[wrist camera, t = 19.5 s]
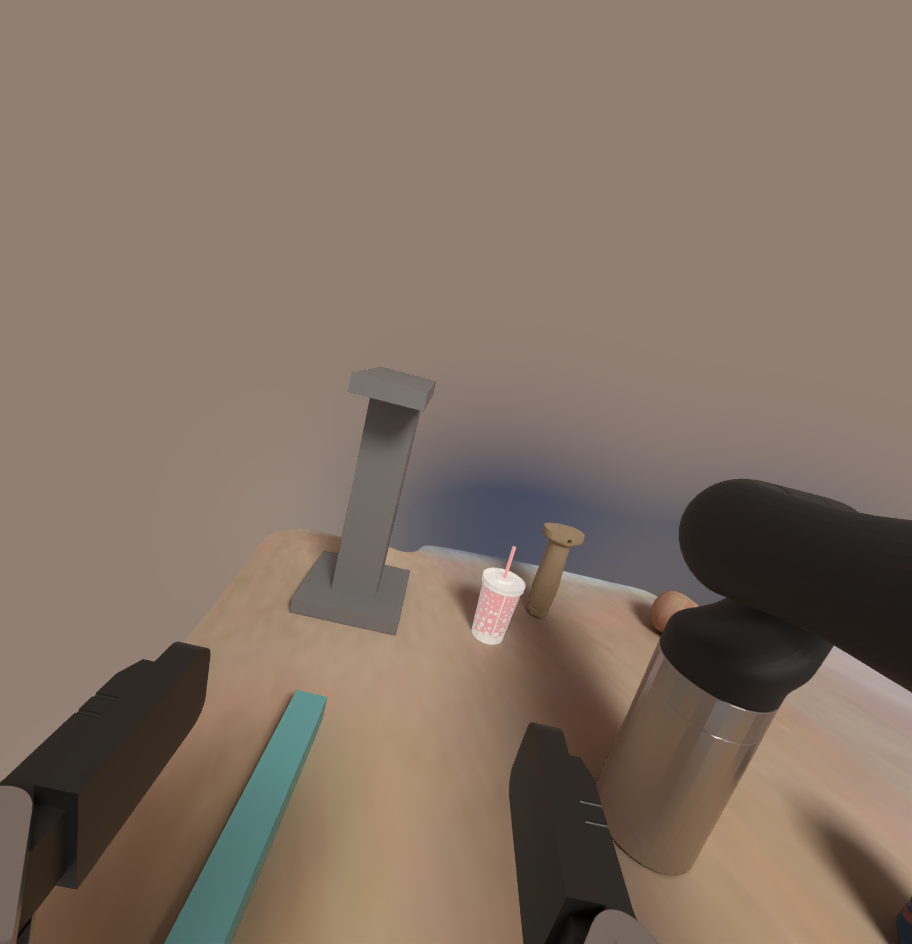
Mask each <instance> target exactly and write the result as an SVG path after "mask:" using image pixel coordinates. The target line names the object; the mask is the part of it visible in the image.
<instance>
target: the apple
mask: <svg viewBox="0 0 912 944" xmlns="http://www.w3.org/2000/svg"><path fill="white" fill-rule="evenodd" d="M692 607H699V606H698V605H697V604H696V603H695V602H693V601H692V600H691V599H689V598H688V597H686V596H685V595H683V594H681V593H679V592H676V591H667V592H664V593H662V594H661V595H660V596H659V597H657V599H656V600H655V601H654V603H653V605H652V609H651V620H652V623H653V625H654V627H655V628H656V629H657V630H658V631H660V632H662V633H663V630H664V628H665V626H666V624H667V622H668V620H669V618H670V617H671V616H672V615H673V614H674V613H676V612H678V611H679V610H682V609H686V608H692Z"/></svg>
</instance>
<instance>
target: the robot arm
mask: <svg viewBox="0 0 912 944" xmlns="http://www.w3.org/2000/svg"><path fill="white" fill-rule="evenodd" d="M679 542H680V548H681V552H682V554H683V557H684V560H685V562H686V564H687V566H688V567H689V569H690V571H691V572H692V573H693V574H694V576H695V577H696V578H697V579H698V580H699V581H700V582H701V583H702V584H703V585H704V586H706V587H707V588H708V589H710V590H711V591H713V592H715V593H717V594H720V595H722V596H725V597H726V598H725V599H723V600H721V601H718V602H716V603H713V604H709V605H704V606H699V607H692V608H686V609H682V610H679V611H678V612H676V613H674V614H673V615H672V616H671V617H670V618H669V620H668V622H667V624H666V626H665V628H664V630H663V633H662V635H661V637H660V639H659V642H658V644H657V646H656V648H655V651H654V653H653V655H652V658H651V660H650V662H649V664H648V667H647V669H646V672H645V674H644V676H643V678H642V681H641V683H640V685H639V688H638V690H637V692H636V694H635V697H634V699H633V701H632V704H631V706H630V708H629V710H628V713H627V715H626V717H625V720H624V722H623V724H622V726H621V729H620V731H619V733H618V735H617V738H616V740H615V742H614V745H613V747H612V749H611V751H610V753H609V756H608V758H607V760H606V763H605V765H604V767H603V770H602V772H601V774H600V776H599V779H598V781H597V783H596V784H595V780H594V779H593V777H592V775H591V774H590V772H589V771H588V769H587V768H586V766H585V764H584V763H583V761H582V760H581V758H579V757H575V756H570V755H569V754H568V750H567V746H566V742H565V738H564V734H563V732H562V730H561V729H559V728H555V727H550V726H546V725H541V724H537V723H532V722H531V723H530V724H529V725H528V727H527V730H526V732H525V735H524V738H523V740H522V743H521V746H520V748H519V751H518V753H517V756H516V759H515V761H514V764H513V767H512V770H511V776H510V784H509V799H510V809H511V820H512V830H513V840H514V851H515V861H516V871H517V882H518V892H519V903H520V913H521V923H522V934H523V944H657V943H656V941H655V940H654V938H653V937H652V936H651V934H650V933H649V932H648V931H647V930H646V929H645V928H644V927H643V926H642V924H640V923H639V922H638V921H637V920H636V917H635V914H634V912H633V909H632V905H631V902H630V899H629V895H628V892H627V888H626V885H625V882H624V878H623V875H622V872H621V868H620V865H619V861H618V858H617V855H616V851H615V848H614V845H613V841H612V838H613V839H614V840H615V841H616V842H617V844H618V845H619V846H620V847H621V848H622V849H623V850H624V851H625V852H626V853H627V854H629V855H630V856H631V857H632V858H633V859H635V860H636V861H638V862H639V863H641V864H642V865H643V866H645V867H647V868H649V869H651V870H653V871H656V872H659V873H662V874H666V875H679V874H683V873H685V872H687V871H688V870H689V869H691V867H692V865H693V864H694V862H695V860H696V858H697V857H698V855H699V853H700V851H701V849H702V848H703V846H704V844H705V842H706V840H707V839H708V837H709V835H710V834H711V832H712V830H713V828H714V826H715V825H716V823H717V821H718V819H719V817H720V816H721V814H722V812H723V810H724V808H725V806H726V805H727V803H728V801H729V799H730V797H731V796H732V794H733V792H734V790H735V788H736V786H737V785H738V783H739V781H740V779H741V777H742V775H743V774H744V772H745V770H746V768H747V766H748V765H749V763H750V761H751V759H752V757H753V755H754V754H755V752H756V750H757V748H758V746H759V744H760V743H761V741H762V739H763V737H764V735H765V733H766V731H767V729H768V728H769V726H770V724H771V722H772V720H773V718H774V717H775V715H776V713H777V711H778V709H779V707H780V706H781V704H782V702H783V700H784V699H785V697H786V696H787V695H788V694H789V693H790V692H792V691H793V690H795V689H797V688H799V687H801V686H802V685H804V684H805V683H806V682H808V681H809V680H810V679H811V678H812V677H813V675H814V674H815V673H816V672H817V670H818V669H819V667H820V666H821V664H822V663H823V661H824V660H825V658H826V657H827V655H828V654H829V652H830V651H831V649H832V648H833V646H836V647H838V648H839V649H841V650H843V651H844V652H846V653H848V654H850V655H851V656H853V657H854V658H856V659H858V660H859V661H861V662H863V663H864V664H866V665H867V666H869V667H871V668H872V669H874V670H875V671H877V672H879V673H880V674H882V675H884V676H885V677H887V678H889V679H890V680H892V681H893V682H895V683H897V684H898V685H900V686H902V687H903V688H905V689H907V690H908V691H910V692H912V520H904V519H897V518H889V517H880V516H874V515H869V514H864V513H859V512H857V511H856V510H855V509H853V508H852V507H850V506H847V505H846V504H843V503H841V502H839V501H835V500H832V499H829V498H826V497H822V496H818V495H814V494H811V493H806V492H803V491H799V490H795V489H791V488H787V487H783V486H779V485H775V484H771V483H768V482H763V481H759V480H751V479H733V480H727V481H723V482H720V483H717V484H714V485H712V486H710V487H708V488H707V489H705V490H704V491H702V492H701V493H699V494H698V495H697V496H696V497H695V498H694V499H693V500H692V501H691V502H690V503H689V505H688V506H687V508H686V509H685V511H684V513H683V515H682V518H681V521H680V526H679ZM209 663H210V649H208V648H204V647H200V646H196V645H191V644H187V643H182V642H175V643H173V644H172V645H171V646H170V647H169V648H168V649H167V650H166V651H165V652H164V653H163V654H162V655H161V656H160V657H159V658H158V659H157V660H156V661H155V662H153V661H148V660H144V659H142V660H141V661H139V662H137V663H135V664H133V665H131V666H130V667H128V668H126V669H124V670H122V671H120V672H118V673H117V674H116V675H114V677H112V678H111V679H110V680H109V681H108V682H107V683H106V684H105V685H104V686H103V687H102V688H101V689H100V690H99V691H98V692H96V695H95V696H94V697H93V696H92V697H91V698H90V699H89V700H88V701H87V702H86V703H85V704H84V705H83V706H82V707H81V708H79V711H78V712H77V713H74V714H73V715H72V716H71V717H70V718H69V719H68V720H67V721H66V722H64V723H63V724H62V725H61V726H60V727H59V728H58V729H57V730H56V731H55V732H54V733H53V734H52V735H51V736H50V737H48V738H47V739H46V740H45V741H44V742H43V743H42V744H41V745H40V746H39V747H38V748H37V749H36V750H35V751H34V752H33V753H31V754H30V755H29V756H28V757H27V758H26V759H25V760H24V761H23V762H22V763H21V764H20V765H19V766H18V767H17V768H16V769H15V770H13V771H12V772H11V773H10V774H9V775H8V776H7V777H6V778H5V779H4V780H2V781H1V782H0V944H32V936H33V928H34V920H35V911H36V910H37V909H38V908H39V906H40V905H41V904H42V902H43V901H44V900H45V898H46V897H47V896H48V894H49V893H50V892H51V890H52V889H53V888H54V886H55V885H57V886H62V887H67V888H72V889H78V887H79V886H80V885H81V883H82V882H83V880H84V879H85V878H86V876H87V875H88V873H89V872H90V871H91V869H92V868H93V866H94V865H95V864H96V862H97V861H98V859H99V858H100V857H101V855H102V854H103V852H104V851H105V850H106V848H107V847H108V845H109V844H110V843H111V841H112V840H113V838H114V837H115V836H116V834H117V833H118V831H119V830H120V829H121V827H122V826H123V824H124V823H125V822H126V820H127V819H128V817H129V816H130V815H131V813H132V812H133V810H134V809H135V808H136V806H137V805H138V803H139V802H140V801H141V799H142V798H143V796H144V795H145V794H146V792H147V791H148V789H149V788H150V787H151V785H152V784H153V782H154V781H155V780H156V778H157V777H158V775H159V774H160V773H161V771H162V770H163V768H164V767H165V766H166V764H167V763H168V761H169V760H170V759H171V757H172V756H173V754H174V753H175V752H176V750H177V749H178V747H179V746H180V745H181V743H182V742H183V740H184V739H185V738H186V736H187V735H188V733H189V732H190V731H191V729H192V728H193V726H194V725H195V723H196V721H197V719H198V717H199V715H200V713H201V711H202V708H203V705H204V702H205V697H206V689H207V680H208V672H209ZM611 837H612V838H611Z"/></svg>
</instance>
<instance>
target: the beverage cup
mask: <svg viewBox="0 0 912 944" xmlns="http://www.w3.org/2000/svg"><path fill="white" fill-rule="evenodd" d="M515 550H516V547H515V546H513V547H512V550H511V554H510V557H509V560H508V563H507V566H506V569H501V568H487V569H486V570H484V572H483V576H482V582H483V583H482V587H481V592H480V596H479V600H478V605H477V609H476V613H475V617H474V622H473V626H472V630H471V631H472V633H473V635H474V636H475V637H476V638H477V639H478V640H480V641H481V642H483V643H486V644H493V645H495V644H499V643H500V642H501V641H502V639H503V637H504V634H505V632H506V629H507V627H508V625H509V622H510V620H511V617H512V615H513V612H514V610H515V607H516V605H517V603H518V600H519V598H520V595H522V594H523V592H524V590H525V583H524V581H523V579H521V578H520V577H519V576H518V575H516V574H514V573H512V572H510V571H509V568H510V565H511V562H512V559H513V556H514V552H515Z"/></svg>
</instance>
